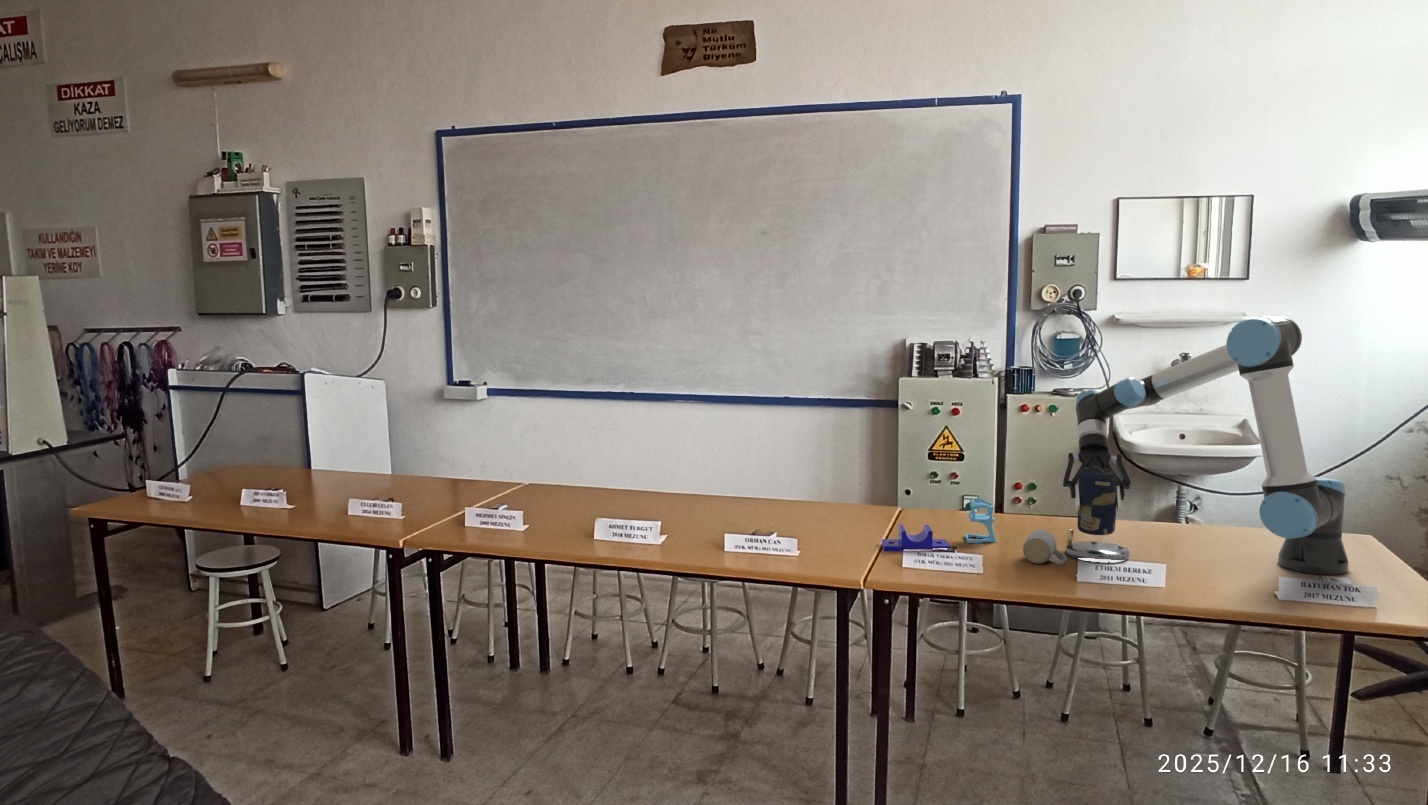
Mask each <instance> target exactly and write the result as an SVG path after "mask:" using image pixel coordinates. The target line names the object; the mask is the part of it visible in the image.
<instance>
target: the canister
mask: <svg viewBox="0 0 1428 805" xmlns="http://www.w3.org/2000/svg"><path fill="white" fill-rule="evenodd" d="M1117 476H1118V474H1117V473H1116V472H1115V470H1113V471H1111V470H1107V469H1100V468H1099V467H1093V468H1087V469H1083V470H1081V471H1080V472H1079V482H1078V486H1079V501H1080V507H1079V511H1077V529H1078V531H1079V532H1081V533H1083V534H1087V535H1092V536H1108V535H1111V534H1113V533H1115V531H1116V520H1117V519H1116V517H1117V506H1116V501H1117V497H1116V495H1117V493H1116V491H1117Z"/></svg>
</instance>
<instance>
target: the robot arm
mask: <svg viewBox="0 0 1428 805" xmlns="http://www.w3.org/2000/svg"><path fill="white" fill-rule="evenodd" d="M1302 335H1303V334H1302V330H1301V329H1300V327H1299V325H1298V324H1297V323H1296V322H1295V321H1294V320H1293V319H1291V318H1289V317H1287V316H1284V315H1280V314H1279V315H1277V314H1276V315H1274V314H1273V315H1261V316H1260V315H1259V316H1258V315H1257V316H1252V317H1248V318H1246V319H1243V320H1241V321H1238V322H1237V323H1236V324H1235V325H1234V326H1233V327H1232V328H1231V330H1230V331H1229V333H1228V335H1227V337H1226V343H1225V344H1223V345H1222V346H1219V347H1216V348H1214V349H1212V350H1210V351H1207V352H1204V353H1201V354H1200V355H1197V356H1195V357H1193V358H1190V359H1188V360H1185V361H1183V362H1180V363H1178V364H1175V365H1172V366H1170V367H1167V368H1166V369H1163V370H1160V371H1157V372H1156V373H1154V374H1151V375H1148V376H1146V377H1143V378H1141V379H1136V378H1135V377H1132V376H1131V377H1130V376H1129V377H1126V378H1124V379H1122V380H1119V381H1117V382H1116V383H1114V384H1113V385H1110V386H1109V387H1107V388H1105V389H1103V390H1102V391H1100V390H1096V389H1089V390H1083V391H1080V393H1078V394H1077V396H1076V400H1075V412H1076V419H1077V421H1076V422H1077V434H1078V435H1077V438H1078V451H1079V452H1078V453H1077V454H1073V453H1072V452H1068V455H1067V466H1066V470H1065V473H1064V477H1063V482H1062V487H1063V488H1069V492H1070V498H1071V499H1074V504H1075V511H1076V512H1078V511H1079V507H1080V501H1079V472H1080V471H1081V470H1083V469H1088V468H1093V467H1099V468H1100V469H1107V470H1111V471H1114V469H1113V468H1112V467H1111V465H1110V461H1111V462H1112V463H1113V464H1114V465H1115V467H1116V471H1117V472H1118V475H1119V476H1118V475H1117V491H1116V493H1117V495H1116V497H1117V501H1116V513H1121V510H1122V501H1124V500H1125V490H1129V489H1130V488H1131V484H1132V482H1131V480H1130V477H1129V475H1128V472H1127V470H1126V468H1125V465H1124V464H1123V461H1122V460H1123V459H1122V454H1119V453H1118V454H1116V455H1112V454H1111V453H1110V451H1109V441H1108V431H1107V430H1108V429H1107V419H1110V418H1112V417H1114V416H1116V415H1118V414H1120V413H1122V412H1124V411H1127V410H1130V409H1131V410H1132V409H1136V408H1141V407H1149V406H1153V405H1157V403H1160V402H1161V401H1163V400H1164V399H1167V398H1170V397H1172V396H1175V395H1178V394H1180V393H1183V392H1186V391H1188V390H1191V389H1193V388H1196V387H1200V386H1201V385H1203V384H1207V383H1210V382H1213V381H1215V380H1217V379H1221V378H1222V377H1225V376H1227V375H1230V374H1233V373H1236V372H1238V374H1239V376H1240V377H1242V378H1243V379H1245V380H1246V381H1247V382H1248V388H1249V391H1250V392H1249V393H1250V396H1251V397H1250V398H1251V401H1252V403H1251V404H1252V407H1253V412H1254V416H1255V417H1254V418H1255V422H1256V427H1257V432H1258V437H1259V442H1260V448H1261V453H1262V458H1263V463H1264V468H1265V473H1266V477H1265V479H1264V480H1263V481H1262V482H1261V488H1262V495H1263V499H1262V501H1261V503H1260V506H1259V510H1258V511H1259V518H1260V520H1261V523H1262V525H1263V526H1264V527H1265V528H1266V529H1267V530H1268V531H1269V532H1271V533H1272V534H1273V535H1275V536H1278V537H1280V538H1283V539H1284V541H1283V543H1282V546H1281V548H1280V550H1279V551H1278V557H1277V563H1278V564H1279V566H1281V567H1283V568H1285V569H1289V570H1292V571H1295V572H1299V573H1300V572H1301V573H1305V574H1314V575H1325V576H1326V575H1328V576H1331V575H1332V576H1333V575H1342V574H1343V575H1344V574H1346V573H1348V572H1349V567H1350V566H1349V563H1350V562H1349V559H1348V557H1347V552H1346V549H1345V546H1344V543H1343V525H1344V523H1343V522H1344V508H1345V496H1346V490H1345V489H1346V488H1345V487H1346V486H1345V483H1344V482H1343V480H1340V479H1335V478H1329V477H1322V476H1314V475H1312V474H1311V473H1310V472H1308V468H1307V463H1306V457H1305V453H1304V448H1303V444H1302V443H1303V442H1302V438H1301V432H1300V429H1299V428H1300V427H1299V423H1298V419H1297V413H1296V409H1295V403H1294V397H1293V394H1292V389H1291V384H1290V378H1289V375H1290V372H1291V371H1292V369H1293V368H1294V367H1295V366H1294V365H1295V364H1294V361H1293V356H1294V355H1295V354H1296V353H1297V352H1298V351H1299V349H1300V348H1301V345H1302V340H1303V336H1302ZM1077 460H1078V461H1079V462H1080V463H1081V465H1080V467H1079V469H1078V470H1077V472H1076V473H1075V475H1074V476H1073V478H1072V479H1071V480H1070V478H1071V474H1072V471H1073V467H1074V463H1076V462H1077Z"/></svg>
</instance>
